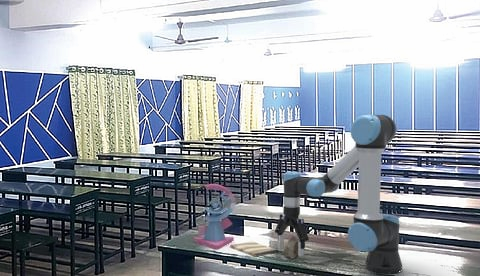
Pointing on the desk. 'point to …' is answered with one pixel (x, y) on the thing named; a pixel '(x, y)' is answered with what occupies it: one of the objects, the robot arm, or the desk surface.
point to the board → (254, 249)
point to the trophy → (216, 221)
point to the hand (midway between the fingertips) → (290, 252)
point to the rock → (292, 247)
